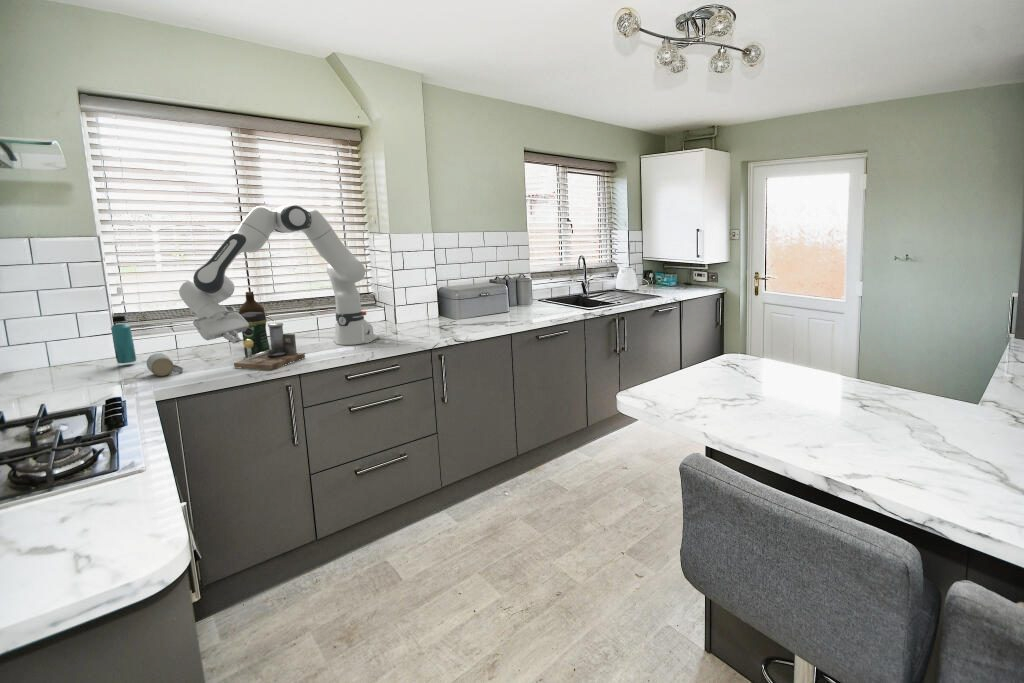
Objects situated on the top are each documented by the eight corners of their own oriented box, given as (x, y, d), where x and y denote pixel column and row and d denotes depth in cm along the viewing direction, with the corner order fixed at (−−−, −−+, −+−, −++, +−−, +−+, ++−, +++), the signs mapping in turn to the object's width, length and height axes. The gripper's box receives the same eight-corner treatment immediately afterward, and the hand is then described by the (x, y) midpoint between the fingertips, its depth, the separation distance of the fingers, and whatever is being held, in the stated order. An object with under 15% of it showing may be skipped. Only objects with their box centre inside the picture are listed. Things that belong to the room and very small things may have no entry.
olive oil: (246, 349, 236) (239, 293, 231) (240, 346, 244) (233, 292, 239) (271, 346, 243) (265, 291, 238) (264, 342, 251) (258, 290, 246)
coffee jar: (273, 353, 228) (269, 310, 224) (260, 357, 221) (255, 313, 217) (254, 352, 231) (249, 310, 227) (241, 356, 223) (235, 313, 219)
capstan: (276, 352, 220) (273, 322, 217) (290, 353, 218) (287, 322, 215) (239, 364, 201) (235, 331, 198) (255, 365, 199) (251, 332, 197)
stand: (270, 355, 224) (267, 332, 222) (305, 357, 219) (303, 334, 217) (234, 367, 205) (231, 342, 203) (271, 370, 200) (268, 344, 198)
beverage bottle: (141, 363, 214) (133, 314, 210) (124, 367, 208) (116, 317, 204) (129, 362, 216) (121, 314, 212) (113, 366, 210) (104, 316, 206)
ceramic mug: (152, 378, 191) (149, 358, 190) (147, 374, 197) (144, 354, 196) (186, 373, 199) (183, 353, 197) (180, 369, 204) (178, 350, 203)
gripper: (194, 314, 193) (219, 342, 193) (237, 306, 212) (260, 331, 212) (186, 326, 195) (211, 353, 195) (229, 317, 215) (252, 341, 214)
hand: (237, 341), depth 203 cm, fingers closed
